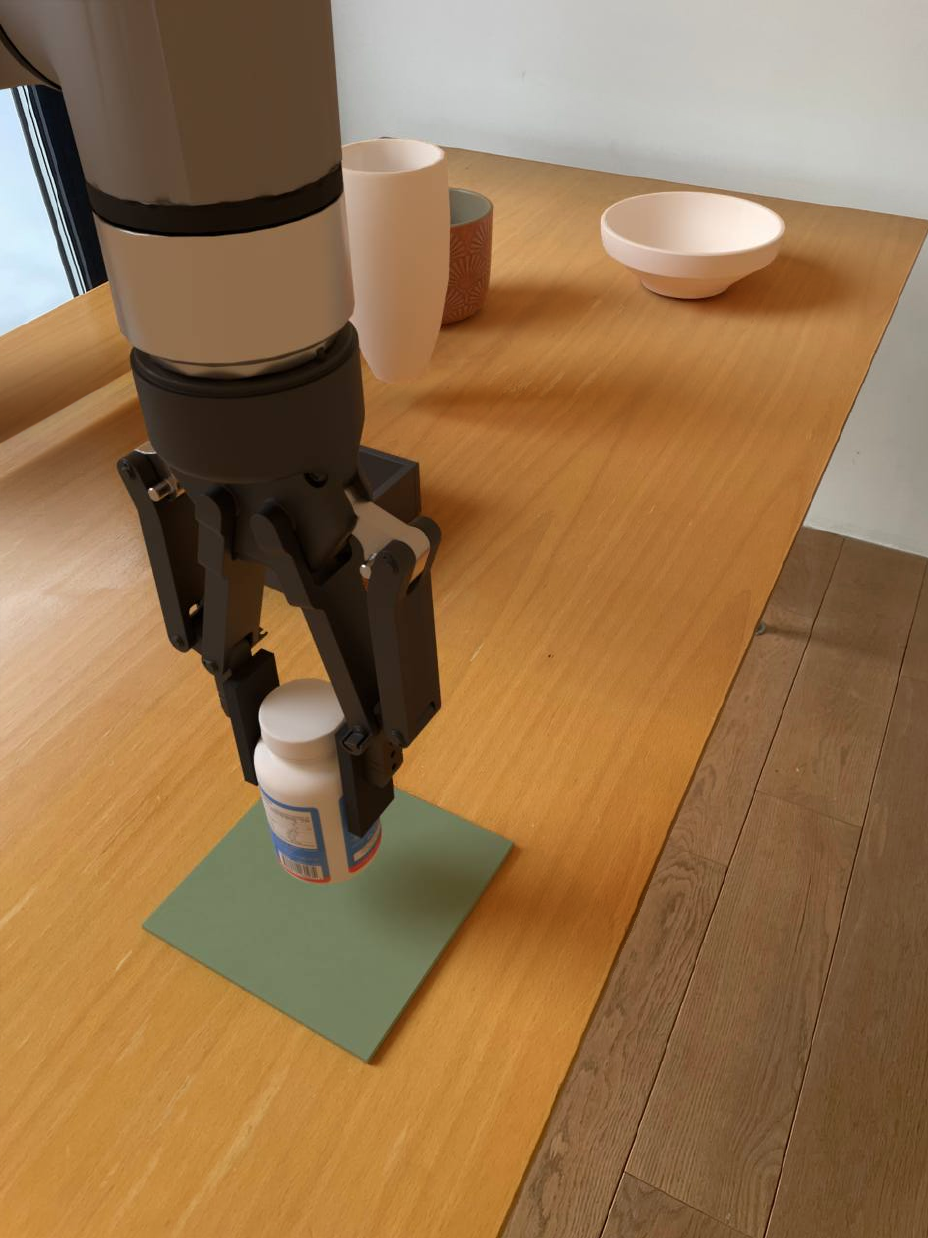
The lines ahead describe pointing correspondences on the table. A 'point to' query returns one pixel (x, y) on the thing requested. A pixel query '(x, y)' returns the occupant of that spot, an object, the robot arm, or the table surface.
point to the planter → (468, 254)
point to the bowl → (691, 240)
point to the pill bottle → (308, 785)
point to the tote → (383, 490)
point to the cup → (397, 251)
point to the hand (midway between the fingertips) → (318, 788)
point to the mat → (334, 919)
